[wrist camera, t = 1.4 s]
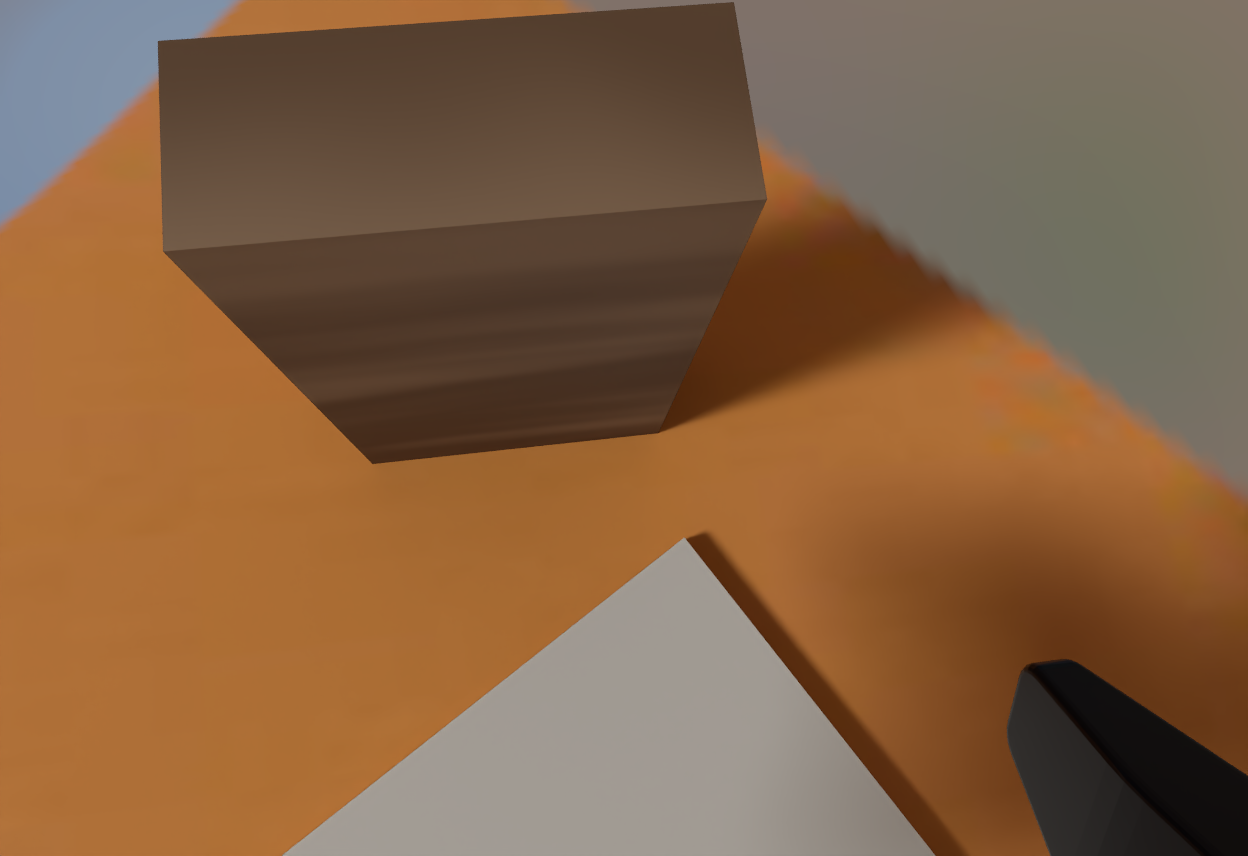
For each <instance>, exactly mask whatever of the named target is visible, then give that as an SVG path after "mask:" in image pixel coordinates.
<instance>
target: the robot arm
mask: <svg viewBox="0 0 1248 856" xmlns="http://www.w3.org/2000/svg"><path fill="white" fill-rule="evenodd" d="M1007 738H1008V744H1009V748H1010V751H1011V754H1012V757H1013V760H1014V762H1015V765H1016V767H1017V770H1018V773H1019V775H1020V778H1021V780H1022V783H1023V786H1024V788H1025V791H1026V793H1027V796H1028V799H1029V801H1030V804H1031V806H1032V809H1033V812H1034V814H1035V817H1036V819H1037V822H1038V825H1039V827H1040V830H1041V832H1042V835H1043V838H1044V840H1045V843H1046V845H1047V848H1048V851H1049V853H1050V856H1248V776H1247V775H1246V774H1244V773H1243V772H1241V771H1240V770H1238V769H1237V768H1235V767H1234V766H1232V765H1231V764H1229V763H1228V762H1226V761H1225V760H1223V759H1222V758H1220V757H1219V756H1217V755H1216V754H1214V753H1213V752H1211V751H1210V750H1208V749H1207V748H1205V747H1204V746H1202V745H1201V744H1199V743H1198V742H1196V741H1195V740H1193V739H1192V738H1190V737H1189V736H1187V735H1186V734H1184V733H1183V732H1181V731H1180V730H1178V729H1177V728H1175V727H1174V726H1172V725H1171V724H1169V723H1168V722H1166V721H1165V720H1163V719H1162V718H1160V717H1159V716H1157V715H1156V714H1154V713H1153V712H1151V711H1150V710H1148V709H1147V708H1145V707H1144V706H1142V705H1141V704H1139V703H1138V702H1136V701H1135V700H1133V699H1132V698H1130V697H1129V696H1127V695H1126V694H1124V693H1123V692H1121V691H1120V690H1118V689H1117V688H1115V687H1114V686H1112V685H1111V684H1109V683H1108V682H1106V681H1105V680H1103V679H1102V678H1100V677H1099V676H1097V675H1096V674H1094V673H1093V672H1091V671H1090V670H1088V669H1087V668H1085V667H1084V666H1082V665H1080V664H1079V663H1077V662H1074V661H1072V660H1068V659H1059V660H1051V661H1044V662H1037V663H1031V664H1028V665H1026V666H1025V667H1024V669H1023V670H1022V671H1021V673H1020V676H1019V680H1018V684H1017V688H1016V692H1015V696H1014V699H1013V703H1012V707H1011V711H1010V715H1009V719H1008V724H1007Z"/></svg>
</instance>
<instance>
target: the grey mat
mask: <svg viewBox="0 0 1248 856" xmlns="http://www.w3.org/2000/svg"><path fill="white" fill-rule="evenodd" d="M282 856H935V855H934V853H933V852H932V851H931V849H930V848H929V847H928V846H927V844H926V843H925V842H924V841H923V839H922V838H921V837H920V836H919V834H918V833H917V832H916V830H915V829H914V828H913V827H912V825H911V824H910V823H909V822H908V820H907V819H906V818H905V817H904V815H903V814H902V813H901V811H900V810H899V809H898V808H897V806H896V805H895V804H894V803H893V801H892V800H891V799H890V797H889V796H888V795H887V794H886V792H885V791H884V790H883V789H882V787H881V786H880V785H879V784H878V782H877V781H876V780H875V778H874V777H873V776H872V775H871V773H870V772H869V771H868V770H867V768H866V767H865V766H864V765H863V763H862V762H861V761H860V759H859V758H858V757H857V756H856V754H855V753H854V752H853V751H852V749H851V748H850V747H849V746H848V744H847V743H846V742H845V740H844V739H843V738H842V737H841V735H840V734H839V733H838V732H837V730H836V729H835V728H834V727H833V725H832V724H831V723H830V721H829V720H828V719H827V718H826V716H825V715H824V714H823V713H822V711H821V710H820V709H819V707H818V706H817V705H816V704H815V702H814V701H813V700H812V699H811V697H810V696H809V695H808V694H807V692H806V691H805V690H804V688H803V687H802V686H801V685H800V683H799V682H798V681H797V680H796V678H795V677H794V676H793V675H792V673H791V672H790V671H789V669H788V668H787V667H786V666H785V664H784V663H783V662H782V661H781V659H780V658H779V657H778V656H777V654H776V653H775V652H774V650H773V649H772V648H771V647H770V645H769V644H768V643H767V642H766V640H765V639H764V638H763V637H762V635H761V634H760V633H759V631H758V630H757V629H756V628H755V626H754V625H753V624H752V623H751V621H750V620H749V619H748V618H747V616H746V615H745V614H744V612H743V611H742V610H741V609H740V607H739V606H738V605H737V604H736V602H735V601H734V600H733V598H732V597H731V596H730V595H729V593H728V592H727V591H726V590H725V588H724V587H723V586H722V585H721V583H720V582H719V581H718V579H717V578H716V577H715V576H714V574H713V573H712V572H711V571H710V569H709V568H708V567H707V566H706V564H705V563H704V562H703V560H702V559H701V558H700V557H699V555H698V554H697V553H696V552H695V550H694V549H693V548H692V547H691V545H690V544H689V543H688V541H687V540H686V539H685V538H683V539H682V540H681V541H679V542H678V543H677V544H676V545H674V546H673V547H672V548H670V549H669V550H668V551H667V552H665V553H664V554H663V555H662V556H660V557H659V558H658V559H657V560H655V561H654V562H653V563H651V564H650V565H649V566H648V567H646V568H645V569H644V570H643V571H641V572H640V573H639V574H638V575H636V576H635V577H634V578H633V579H631V580H630V581H629V582H627V583H626V584H625V585H624V586H622V587H621V588H620V589H619V590H617V591H616V592H615V593H614V594H612V595H611V596H610V597H608V598H607V599H606V600H605V601H603V602H602V603H601V604H600V605H598V606H597V607H596V608H595V609H593V610H592V611H591V612H590V613H588V614H587V615H586V616H584V617H583V618H582V619H581V620H579V621H578V622H577V623H576V624H574V625H573V626H572V627H571V628H569V629H568V630H567V631H565V632H564V633H563V634H562V635H560V636H559V637H558V638H557V639H555V640H554V641H553V642H552V643H550V644H549V645H548V646H546V647H545V648H544V649H543V650H541V651H540V652H539V653H538V654H536V655H535V656H534V657H533V658H531V659H530V660H529V661H528V662H526V663H525V664H524V665H522V666H521V667H520V668H519V669H517V670H516V671H515V672H514V673H512V674H511V675H510V676H509V677H507V678H506V679H505V680H503V681H502V682H501V683H500V684H498V685H497V686H496V687H495V688H493V689H492V690H491V691H490V692H488V693H487V694H486V695H485V696H483V697H482V698H481V699H479V700H478V701H477V702H476V703H474V704H473V705H472V706H471V707H469V708H468V709H467V710H466V711H464V712H463V713H462V714H460V715H459V716H458V717H457V718H455V719H454V720H453V721H452V722H450V723H449V724H448V725H447V726H445V727H444V728H443V729H441V730H440V731H439V732H438V733H436V734H435V735H434V736H433V737H431V738H430V739H429V740H428V741H426V742H425V743H424V744H423V745H421V746H420V747H419V748H417V749H416V750H415V751H414V752H412V753H411V754H410V755H409V756H407V757H406V758H405V759H404V760H402V761H401V762H400V763H398V764H397V765H396V766H395V767H393V768H392V769H391V770H390V771H388V772H387V773H386V774H385V775H383V776H382V777H381V778H379V779H378V780H377V781H376V782H374V783H373V784H372V785H371V786H369V787H368V788H367V789H366V790H364V791H363V792H362V793H361V794H359V795H358V796H357V797H355V798H354V799H353V800H352V801H350V802H349V803H348V804H347V805H345V806H344V807H343V808H342V809H340V810H339V811H338V812H336V813H335V814H334V815H333V816H331V817H330V818H329V819H328V820H326V821H325V822H324V823H323V824H321V825H320V826H319V827H318V828H316V829H315V830H314V831H312V832H311V833H310V834H309V835H307V836H306V837H305V838H304V839H302V840H301V841H300V842H299V843H297V844H296V845H295V846H293V847H292V848H291V849H290V850H288V851H287V852H286V853H285V854H283V855H282Z"/></svg>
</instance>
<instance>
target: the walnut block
mask: <svg viewBox="0 0 1248 856" xmlns="http://www.w3.org/2000/svg"><path fill="white" fill-rule="evenodd" d="M158 64H159V104H160V144H161V184H162V223H163V252H164V253H165V254H166V255H167V256H168V257H169V258H170V259H171V260H172V261H173V262H174V263H175V264H176V265H177V266H178V267H179V268H180V269H181V270H182V271H183V272H184V273H185V274H186V275H187V276H188V277H189V278H190V279H191V280H192V281H193V282H194V283H195V284H196V285H197V286H198V287H199V288H200V289H201V290H202V291H203V292H204V293H205V294H206V295H207V296H208V297H209V298H210V299H211V300H212V301H213V302H214V304H215V305H216V306H217V307H218V308H219V309H220V310H221V311H222V312H223V313H224V314H225V315H226V316H227V317H228V318H229V319H230V320H231V321H232V322H233V323H234V324H235V325H236V326H237V327H238V328H239V329H240V330H241V331H242V332H243V333H244V334H245V335H246V336H247V337H248V338H249V339H250V340H251V341H252V342H253V343H254V344H255V345H256V346H257V347H258V348H259V349H260V350H261V351H262V352H263V353H264V354H265V355H266V356H267V357H268V358H269V359H270V360H271V361H272V362H273V363H274V364H275V365H276V366H277V367H278V368H279V369H280V370H281V371H282V372H283V373H284V375H285V376H286V377H287V378H288V379H289V380H290V381H291V382H292V383H293V384H294V385H295V386H296V387H297V388H298V389H299V390H300V391H301V392H302V393H303V394H304V395H305V396H306V397H307V398H308V399H309V400H310V401H311V402H312V403H313V404H314V405H315V406H316V407H317V408H318V409H319V410H320V411H321V412H322V413H323V414H324V415H325V416H326V417H327V418H328V419H329V420H330V421H331V422H332V423H333V424H334V425H335V426H336V427H337V428H338V429H339V430H340V431H341V432H342V433H343V434H344V435H345V436H346V437H347V438H348V439H349V440H350V441H351V442H352V443H353V444H354V445H355V447H356V448H357V449H358V450H359V451H360V452H361V453H362V454H363V455H364V456H365V457H366V458H367V459H368V460H369V461H370V462H371V463H372V464H376V463H385V462H395V461H404V460H413V459H422V458H432V457H441V456H450V455H459V454H469V453H478V452H487V451H497V450H506V449H515V448H524V447H534V446H543V445H552V444H561V443H571V442H580V441H589V440H598V439H608V438H617V437H626V436H636V435H645V434H654V433H658V432H659V430H660V428H661V426H662V424H663V422H664V419H665V417H666V415H667V413H668V411H669V409H670V407H671V404H672V402H673V400H674V398H675V396H676V394H677V392H678V389H679V387H680V385H681V383H682V381H683V379H684V376H685V374H686V372H687V370H688V368H689V366H690V364H691V361H692V359H693V357H694V355H695V353H696V351H697V349H698V346H699V344H700V342H701V340H702V338H703V336H704V334H705V331H706V329H707V327H708V325H709V323H710V321H711V318H712V316H713V314H714V312H715V310H716V308H717V306H718V303H719V301H720V299H721V297H722V295H723V293H724V291H725V288H726V286H727V284H728V282H729V280H730V278H731V275H732V273H733V271H734V269H735V267H736V265H737V263H738V260H739V258H740V256H741V254H742V252H743V250H744V248H745V245H746V243H747V241H748V239H749V237H750V235H751V233H752V230H753V228H754V226H755V224H756V222H757V220H758V217H759V215H760V213H761V211H762V209H763V207H764V205H765V202H766V200H767V196H766V191H765V185H764V179H763V173H762V167H761V161H760V155H759V149H758V143H757V137H756V131H755V125H754V119H753V113H752V107H751V101H750V95H749V90H748V84H747V78H746V72H745V66H744V60H743V54H742V48H741V42H740V36H739V30H738V25H737V19H736V12H735V6H734V3H733V2H731V3H716V4H701V5H686V6H671V7H657V8H643V9H627V10H612V11H597V12H582V13H567V14H552V15H538V16H523V17H508V18H493V19H478V20H463V21H448V22H433V23H419V24H404V25H389V26H374V27H359V28H344V29H329V30H315V31H300V32H285V33H270V34H255V35H240V36H225V37H210V38H196V39H181V40H167V41H158Z"/></svg>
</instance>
